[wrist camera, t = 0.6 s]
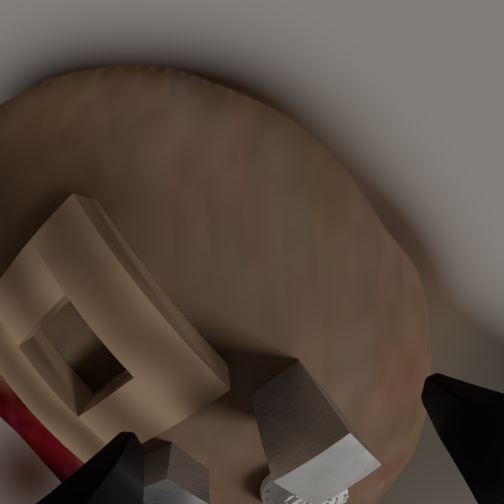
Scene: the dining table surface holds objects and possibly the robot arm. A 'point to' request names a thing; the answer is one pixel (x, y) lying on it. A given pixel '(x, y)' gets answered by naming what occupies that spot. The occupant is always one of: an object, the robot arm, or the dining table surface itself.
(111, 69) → the dining table surface
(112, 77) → the dining table surface
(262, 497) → the mechanical component
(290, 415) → the grey tall rectangular block
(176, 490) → the grey cube
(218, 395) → the hole block
